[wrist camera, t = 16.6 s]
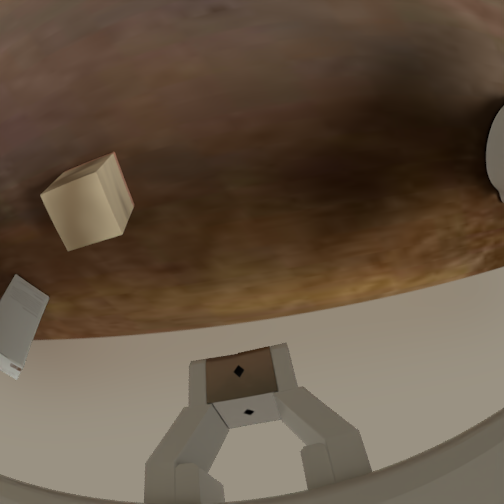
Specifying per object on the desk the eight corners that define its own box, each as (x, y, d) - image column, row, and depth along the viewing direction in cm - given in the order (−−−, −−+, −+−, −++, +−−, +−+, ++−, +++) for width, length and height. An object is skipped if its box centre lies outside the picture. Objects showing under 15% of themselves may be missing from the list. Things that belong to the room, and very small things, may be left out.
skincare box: (9, 290, 33) (-25, 356, 23) (16, 270, 32) (-23, 339, 22) (43, 313, 36) (16, 382, 26) (52, 295, 35) (23, 368, 25)
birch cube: (39, 195, 22) (64, 171, 27) (68, 251, 25) (86, 220, 30) (96, 171, 22) (114, 151, 27) (122, 234, 25) (134, 204, 30)
